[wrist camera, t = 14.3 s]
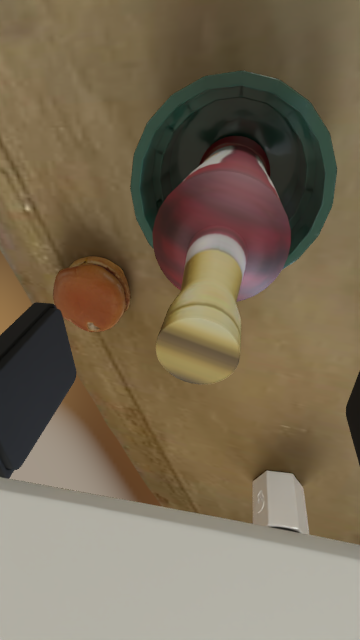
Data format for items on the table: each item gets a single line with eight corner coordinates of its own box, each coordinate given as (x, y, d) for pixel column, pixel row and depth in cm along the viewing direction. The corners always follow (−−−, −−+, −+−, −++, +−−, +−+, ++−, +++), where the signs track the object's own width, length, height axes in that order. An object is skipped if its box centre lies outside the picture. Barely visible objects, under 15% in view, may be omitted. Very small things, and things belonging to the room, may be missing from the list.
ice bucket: (208, 35, 29) (192, 15, 21) (352, 140, 31) (386, 157, 23) (133, 197, 37) (103, 226, 30) (250, 269, 40) (250, 313, 32)
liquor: (212, 119, 31) (107, 198, 8) (285, 148, 31) (379, 301, 9) (187, 196, 35) (72, 388, 13) (252, 221, 36) (255, 453, 13)
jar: (272, 463, 59) (276, 537, 49) (311, 481, 60) (323, 558, 50) (245, 485, 64) (243, 556, 54) (281, 501, 65) (286, 574, 55)
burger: (108, 243, 41) (93, 259, 37) (146, 304, 45) (136, 324, 41) (48, 271, 45) (29, 288, 41) (88, 325, 49) (74, 345, 45)
